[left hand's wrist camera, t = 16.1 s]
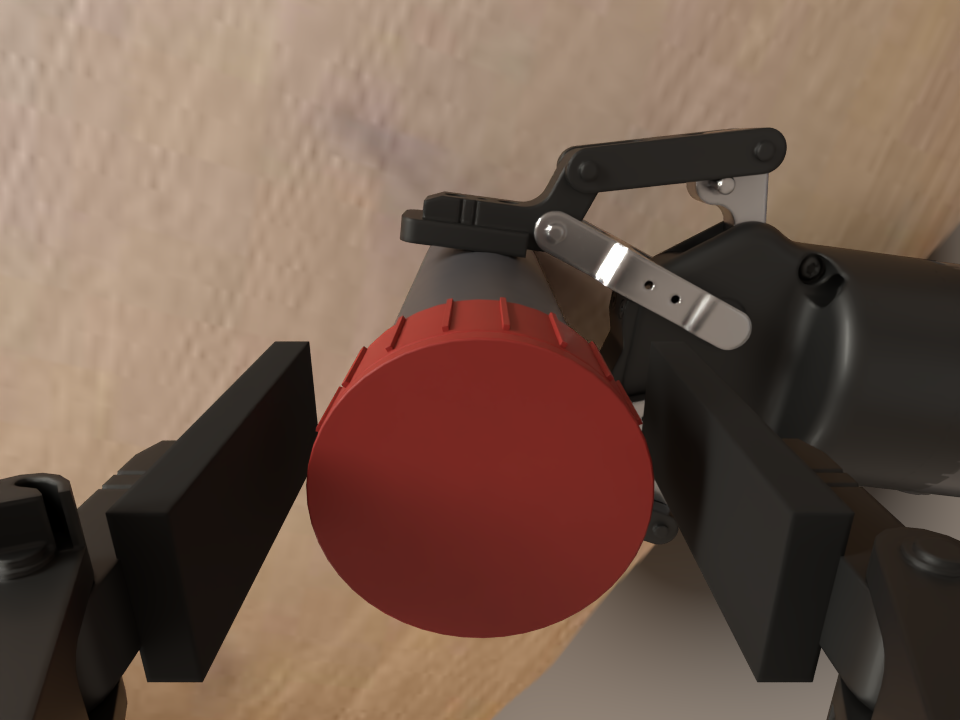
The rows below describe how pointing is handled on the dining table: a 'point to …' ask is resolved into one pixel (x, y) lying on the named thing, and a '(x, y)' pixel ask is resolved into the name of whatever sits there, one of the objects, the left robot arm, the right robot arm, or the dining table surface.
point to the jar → (479, 281)
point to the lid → (480, 472)
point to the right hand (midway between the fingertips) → (398, 311)
